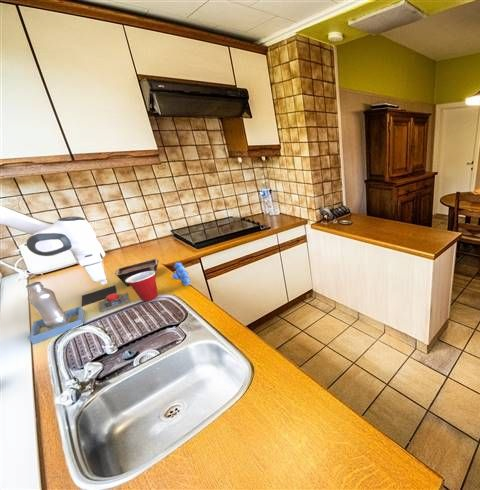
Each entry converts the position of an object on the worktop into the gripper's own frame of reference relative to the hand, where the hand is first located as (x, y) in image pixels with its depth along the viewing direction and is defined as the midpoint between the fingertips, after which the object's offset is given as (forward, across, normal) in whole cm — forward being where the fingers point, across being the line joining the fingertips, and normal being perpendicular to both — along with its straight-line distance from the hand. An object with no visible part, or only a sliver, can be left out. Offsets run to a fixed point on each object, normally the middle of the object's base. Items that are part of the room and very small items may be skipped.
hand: (104, 282), depth 115 cm
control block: (+11, 0, 0) cm, 11 cm away
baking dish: (+11, -20, +12) cm, 26 cm away
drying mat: (+11, -15, -5) cm, 19 cm away
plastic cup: (+11, +7, +12) cm, 18 cm away
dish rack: (+11, +4, -17) cm, 21 cm away
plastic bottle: (+11, +4, -17) cm, 21 cm away
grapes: (+11, +6, +26) cm, 29 cm away
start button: (+8, 0, 0) cm, 8 cm away
